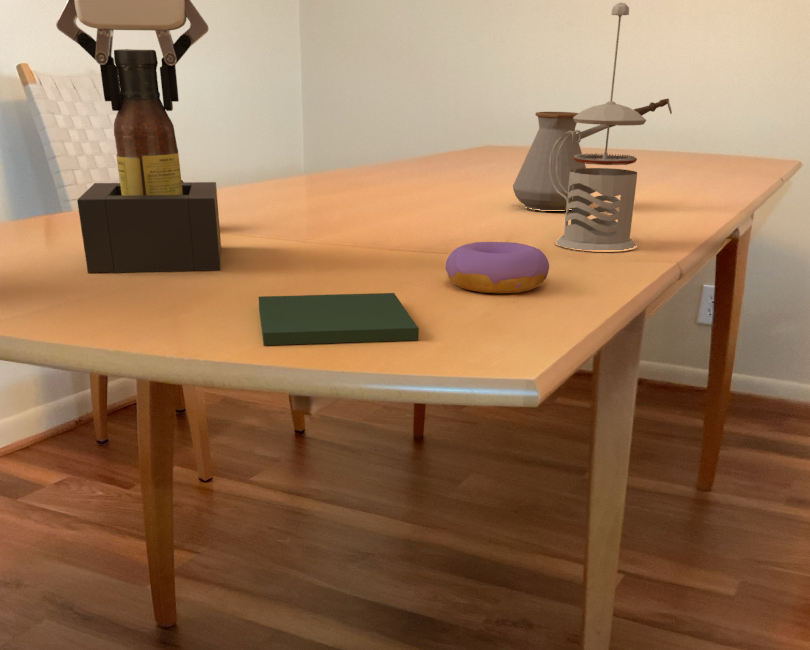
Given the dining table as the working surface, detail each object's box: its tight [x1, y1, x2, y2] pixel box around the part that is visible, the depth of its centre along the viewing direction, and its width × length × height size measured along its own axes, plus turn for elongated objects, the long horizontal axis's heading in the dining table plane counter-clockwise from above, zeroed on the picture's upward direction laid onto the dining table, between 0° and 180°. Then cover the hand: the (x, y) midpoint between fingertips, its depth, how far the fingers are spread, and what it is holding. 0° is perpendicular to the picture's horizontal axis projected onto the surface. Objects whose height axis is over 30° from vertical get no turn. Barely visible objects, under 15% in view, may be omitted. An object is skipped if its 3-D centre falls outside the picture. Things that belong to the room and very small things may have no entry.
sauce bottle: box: [113, 48, 183, 196], centre depth 94 cm, size 6×6×20 cm
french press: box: [549, 2, 647, 250], centre depth 104 cm, size 10×12×25 cm
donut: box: [445, 241, 550, 294], centre depth 88 cm, size 10×9×5 cm
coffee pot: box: [512, 97, 673, 210], centre depth 131 cm, size 21×12×15 cm, turn 80°
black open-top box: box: [76, 181, 222, 274], centre depth 97 cm, size 13×13×7 cm
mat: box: [258, 292, 420, 346], centre depth 75 cm, size 12×12×1 cm
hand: (142, 107), depth 92 cm, fingers closed on sauce bottle, 4 cm apart
